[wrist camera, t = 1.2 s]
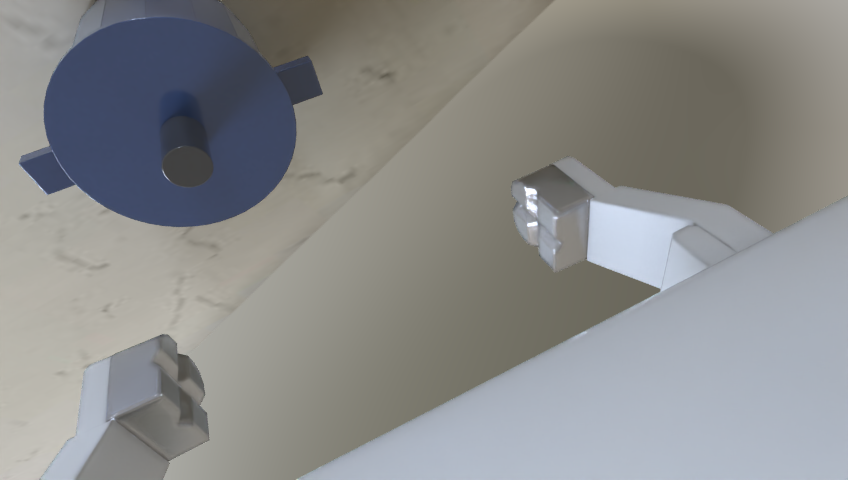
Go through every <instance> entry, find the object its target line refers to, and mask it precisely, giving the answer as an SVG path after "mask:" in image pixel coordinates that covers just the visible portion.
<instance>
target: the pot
mask: <svg viewBox="0 0 848 480" xmlns="http://www.w3.org/2000/svg"><path fill="white" fill-rule="evenodd" d="M148 14H172V15H178V16H185V17H191V18H195V19H198V20H202V21H205V22H209V23H211V24H214V25H216V26H218V27H221V28H223V29H225V30H227V31H229V32H231V33H233V34H234V35H236V36H238V37H240V38H241V39H243V40H244V41H245V42H247V43H248V44H250V45H251V46H252V47H253V48H255V49H256V50H257V51H258V52H259V50H258V48H257V46H256V44H255V42H254V40H253V38H252V36H251V34H250V32H249V31H248V29H247V28H246V27H245V26H244V25H243V24H242V23H241V22H240V21H239V19H238V18H237V17H236V16H235V15H234V14H233V13H232V12H231V11H230V10H229V9H228V8H227V7H226V6H225V5H224V4H222V3H221V2H219V1H218V0H97V1H96V2H95V3H94V4H93V5H92V6H91V7H90V8H89V10H88V11H87V12H86V13H85V14H84V15H83V16H82V17H81V19H80V22H79V26H78V29H77V32H76V35H75V39H74V42H73V45H74V44H75V43H76V42H78V41H79V40H80V39H81V38H83V37H84V36H85V35H87V34H88V33H90V32H92V31H94V30H95V29H97V28H99V27H101V26H103V25H106V24H108V23H111V22H113V21H116V20H119V19H124V18H128V17H132V16H138V15H148ZM73 45H72V46H73ZM259 53H260V52H259ZM274 70H275V71H276V73H277V74H278V76H279V77H280V79H281V80H282V82H283V84H284V86H285V88H286V90H287V92H288V94H289V96H290V99H291V102H292V105H294V104H297V103H300V102H303V101H305V100H308V99H311V98H313V97H316V96H319V95H322V94H323V93H322V90H321V87H320V84H319V81H318V78H317V75H316V73H315V70H314V67H313V64H312V61H311V60H310V58H309V57H308V56H305V57H303V58H300V59H297V60H294V61H291V62H288V63H285V64H283V65H280V66H277V67H274ZM19 165H20V166H21V167H22V168H23V169H24V171H25V172H26V173H27V174H28V175H29V176H30V177H31V178H32V179H33V180H34V181H35V183H36V184H37V185H38V186H39V187H40V188H41V189H42V190H43V191H44V192H45V193H46V195H49V194H51V193H54V192H57V191H60V190H62V189H65V188H68V187H71V186H73V185H76V184H75V183H74V182H73V181H72V180H71V179H70V178H69V177H68V175H67V174H66V173H65V171H64V170H63V169H62V167H61V166H60V165H59V163H58V161H57V159H56V157H55V155H54V154H53V152H52V149H51V147H50V146H49V147H46V148H43V149H40V150H37V151H34V152H31V153H29V154H26V155H23V156H21V158H20V161H19Z"/></svg>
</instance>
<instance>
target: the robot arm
mask: <svg viewBox="0 0 848 480" xmlns="http://www.w3.org/2000/svg"><path fill="white" fill-rule="evenodd" d="M511 193H512V196H513V197H514V198H515V199H516V200H517V203H516V205H515V207H514V209H513V215H514V222H515V224H516V227H517V229H518V231H519V233H520V234H521V236H522V238H523V239H524V240H525V241H526V242H527V243H528V244H529V245H533V246H536V247H539V256H540V257H541V258H542V259H543V260H544V261H545V262H546V263H547V264H548V265H549V266H550V267H551V268H552V270H553V271H554V272H558V271H561V270H563V269H565V268H567V267H569V266H571V265H574V264H576V263H578V262H581V261H583V260H585V259H587V261H590V262H592V263H595V264H598V265H600V266H603V267H605V268H608V269H611V270H613V271H616V272H619V273H621V274H624V275H626V276H629V277H632V278H634V279H637V280H640V281H642V282H645V283H647V284H650V285H653V286H655V287H658V288H661V291H660V292H659V293H658V294H656V295H654V296H652V297H650V298H648V299H646V300H644V301H642V302H640V303H638V304H636V305H634V306H632V307H630V308H628V309H626V310H625V311H622V312H620V313H619V314H617V315H615V316H613V317H611V318H609V319H607V320H605V321H603V322H601V323H599V324H597V325H595V326H593V327H591V328H589V329H587V330H585V331H583V332H582V333H580V334H578V335H576V336H574V337H572V338H570V339H568V340H566V341H564V342H562V343H560V344H559V345H556V346H554V347H552V348H551V349H549V350H547V351H545V352H543V353H541V354H539V355H537V356H535V357H533V358H531V359H529V360H527V361H525V362H524V363H521V364H520V365H518V366H516V367H514V368H512V369H510V370H508V371H506V372H504V373H502V374H500V375H498V376H496V377H495V378H492V379H490V380H489V381H487V382H485V383H483V384H481V385H479V386H477V387H475V388H473V389H471V390H469V391H467V392H465V393H463V394H461V395H459V396H458V397H456V398H454V399H452V400H450V401H448V402H446V403H444V404H442V405H440V406H438V407H436V408H434V409H432V410H430V411H428V412H426V413H424V414H422V415H420V416H419V417H417V418H415V419H413V420H411V421H409V422H407V423H405V424H403V425H401V426H399V427H397V428H395V429H393V430H391V431H389V432H387V433H386V434H384V435H382V436H380V437H378V438H376V439H374V440H372V441H370V442H368V443H366V444H364V445H362V446H360V447H358V448H356V449H354V450H352V451H350V452H348V453H346V454H345V455H343V456H341V457H339V458H337V459H335V460H333V461H331V462H329V463H327V464H325V465H323V466H321V467H319V468H317V469H315V470H314V471H311V472H309V473H308V474H306V475H304V476H302V477H300V478H298V479H296V480H848V196H846V197H844V198H842V199H840V200H838V201H836V202H834V203H832V204H830V205H829V206H827V207H825V208H823V209H821V210H819V211H817V212H815V213H813V214H811V215H809V216H807V217H805V218H803V219H801V220H799V221H797V222H796V223H794V224H792V225H790V226H788V227H786V228H784V229H782V230H780V231H778V232H776V233H774V234H773V233H772V232H770V231H768V230H767V229H765V228H764V227H762V226H760V225H759V224H757V223H756V222H754V221H753V220H751V219H749V218H748V217H746V216H745V215H743V214H741V213H740V212H738V211H737V210H735V209H733V208H732V207H730V206H729V205H726V204H721V203H715V202H709V201H704V200H698V199H692V198H687V197H681V196H676V195H670V194H664V193H659V192H653V191H648V190H642V189H636V188H631V187H625V186H619V187H617V188H615V187H613V186H612V185H610V184H609V183H607V182H606V181H605V180H603V179H602V178H601V177H599V176H598V175H597V174H595V173H594V172H593V171H591V170H590V169H588V168H587V167H586V166H584V165H583V164H582V163H580V162H579V161H578V160H576V159H575V158H573V157H570V156H567V157H564V158H563V159H560V160H558V161H556V162H554V163H552V164H550V165H549V166H546V167H543V168H541V169H539V170H537V171H535V172H532V173H530V174H528V175H526V176H523V177H521V178H519V179H517V180H514V181H513V182H512V185H511ZM204 396H205V391H204V384H203V381H202V378H201V375H200V372H199V370H198V368H197V367H196V365H195V364H194V362H193V361H192V360H191V359H190V358H189V356H186V355H182V354H177V343H176V342H175V341H174V340H173V339H172V338H171V337H170V336H169V335H166V334H162V335H160V336H157V337H155V338H152V339H150V340H147V341H145V342H143V343H140V344H138V345H135V346H133V347H130V348H128V349H126V350H123V351H121V352H118V353H116V354H114V355H113V356H110V357H107V358H105V359H103V360H100V361H98V362H95V363H93V364H90V365H89V366H88V367H87V368H86V370H85V371H84V375H83V382H82V390H81V398H80V405H79V413H78V421H77V428H76V436H75V437H73V438H70V439H68V440H67V441H66V443H65V444H64V446H63V447H62V448H61V450H60V451H59V453H58V454H57V456H56V457H55V458H54V460H53V461H52V463H51V464H50V466H49V467H48V468H47V470H46V471H45V473H44V474H43V475H42V477H41V478H40V480H163V478H164V476H165V473H166V471H167V469H168V466H169V464H170V463H169V462H168V461H170V460H172V459H174V458H176V457H177V456H180V455H181V454H183V453H185V452H187V451H189V450H191V449H193V448H195V447H197V446H199V445H201V444H203V443H205V442H207V441H209V431H208V421H207V413H206V412H205V411H204V410H203V409H202V408H201V407H200V404H201V402H202V400H203V398H204Z"/></svg>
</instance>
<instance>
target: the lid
mask: <svg viewBox="0 0 848 480" xmlns="http://www.w3.org/2000/svg"><path fill="white" fill-rule="evenodd" d="M44 124H45V129H46V135H47V138H48V141H49V144H50V147H51V149H52V152H53V154H54V155H55V157H56V159H57V161H58V163H59V165H60V166H61V167H62V169H63V170H64V171H65V173H66V174H67V175H68V177H69V178H70V179H71V180H72V181H73V182H74V183H75V184H76V185H77V186H78V187H79V188H80V189H81V190H82V191H83V192H85V193H86V194H87V195H88V196H90V197H91V198H92V199H94V200H95V201H97V202H98V203H100V204H101V205H103V206H104V207H106V208H108V209H110V210H112V211H114V212H116V213H118V214H121V215H123V216H126V217H128V218H131V219H134V220H138V221H141V222H145V223H149V224H155V225H161V226H172V227H192V226H200V225H208V224H212V223H216V222H220V221H223V220H226V219H229V218H232V217H234V216H237V215H239V214H241V213H243V212H245V211H247V210H248V209H250V208H252V207H253V206H255V205H256V204H258V203H259V202H260V201H262V200H263V199H264V198H265V197H266V196H267V195H268V194H269V193H270V192H271V191H272V190H273V189H274V188H275V187H276V186H277V184H278V183H279V182H280V181H281V179H282V178H283V176H284V174H285V172H286V171H287V169H288V167H289V164H290V162H291V159H292V156H293V152H294V149H295V142H296V119H295V113H294V108H293V105H292V102H291V99H290V96H289V94H288V92H287V90H286V88H285V86H284V84H283V82H282V80H281V79H280V77H279V76H278V74H277V73H276V71H275V70H274V68H273V67H272V66H271V65H270V64H269V62H268V61H267V60H266V59H265V58H264V57H263V56H262V55H261V54H260V53H259V52H258V51H257V50H256V49H255V48H253V47H252V46H251V45H250V44H248V43H247V42H245V41H244V40H243V39H241V38H240V37H238V36H236V35H234V34H233V33H231V32H229V31H227V30H225V29H223V28H221V27H218V26H216V25H214V24H211V23H209V22H205V21H202V20H198V19H195V18H191V17H185V16H178V15H172V14H148V15H138V16H132V17H128V18H124V19H119V20H116V21H113V22H111V23H108V24H106V25H103V26H101V27H99V28H97V29H95V30H94V31H92V32H90V33H88V34H87V35H85V36H84V37H83V38H81V39H80V40H79V41H78V42H76V43H75V44H74V45H73V46H72V47H71V48H70V49H69V50H68V51H67V52H66V54H65V55H64V56H63V57H62V58H61V60H60V61H59V63H58V65H57V66H56V68H55V70H54V71H53V74H52V76H51V79H50V82H49V85H48V87H47V90H46V96H45V101H44Z"/></svg>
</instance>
